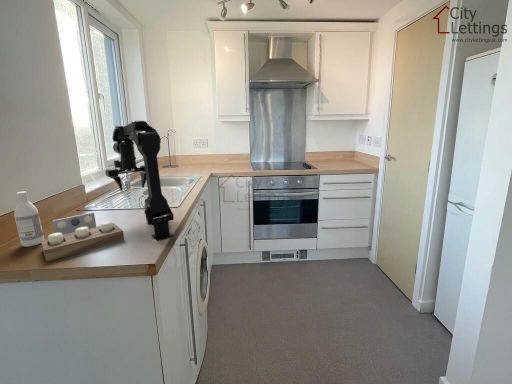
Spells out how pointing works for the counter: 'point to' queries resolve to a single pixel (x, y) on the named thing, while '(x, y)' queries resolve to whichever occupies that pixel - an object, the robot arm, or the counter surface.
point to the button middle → (82, 232)
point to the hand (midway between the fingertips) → (132, 189)
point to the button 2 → (106, 226)
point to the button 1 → (55, 238)
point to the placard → (74, 223)
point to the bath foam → (27, 221)
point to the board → (81, 242)
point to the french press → (144, 205)
